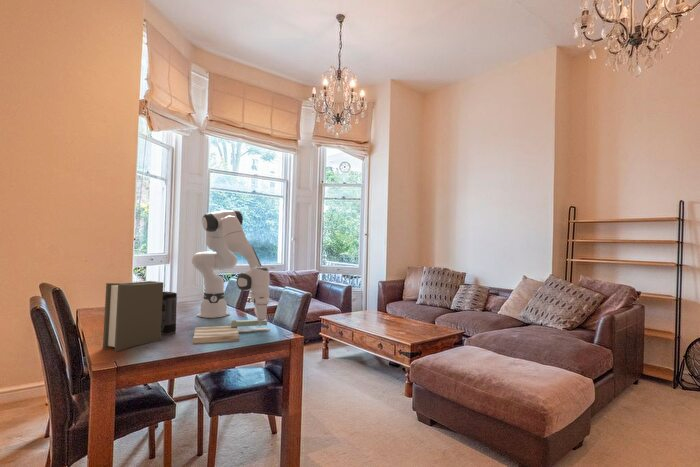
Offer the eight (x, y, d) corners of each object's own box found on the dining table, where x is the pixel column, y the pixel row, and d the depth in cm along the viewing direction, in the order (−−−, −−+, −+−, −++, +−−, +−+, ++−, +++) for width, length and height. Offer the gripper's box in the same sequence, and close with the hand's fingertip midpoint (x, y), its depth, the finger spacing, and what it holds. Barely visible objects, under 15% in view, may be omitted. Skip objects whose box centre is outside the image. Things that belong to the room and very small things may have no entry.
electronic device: (154, 332, 190) (155, 292, 190) (165, 330, 195) (166, 291, 195) (166, 335, 185) (167, 294, 185) (177, 332, 191) (178, 292, 191)
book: (148, 338, 182) (151, 279, 183) (161, 340, 178) (164, 281, 179) (102, 348, 163) (106, 283, 163) (116, 351, 158) (120, 284, 159)
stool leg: (231, 327, 194) (231, 321, 194) (230, 325, 196) (231, 319, 196) (266, 325, 200) (267, 319, 200) (266, 323, 202) (266, 318, 202)
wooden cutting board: (195, 332, 192) (195, 327, 192) (268, 328, 204) (268, 323, 204) (193, 343, 173) (193, 337, 173) (273, 338, 185) (273, 333, 185)
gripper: (252, 295, 202) (251, 321, 202) (255, 301, 183) (255, 330, 183) (264, 295, 205) (263, 320, 204) (269, 301, 185) (268, 329, 185)
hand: (259, 325), depth 194 cm, fingers closed
